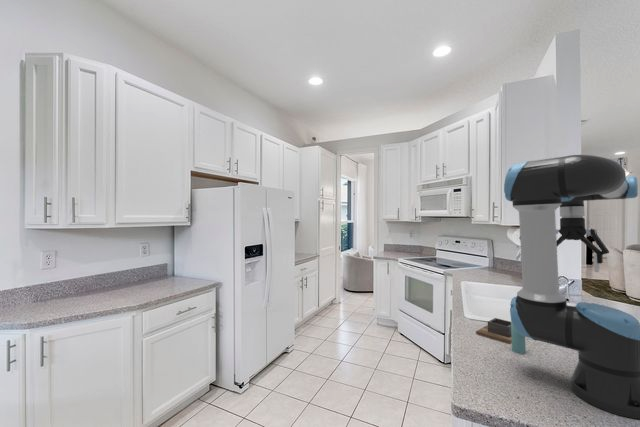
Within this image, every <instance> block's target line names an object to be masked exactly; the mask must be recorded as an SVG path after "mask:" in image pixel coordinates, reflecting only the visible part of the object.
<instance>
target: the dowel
mask: <svg viewBox="0 0 640 427" xmlns="http://www.w3.org/2000/svg"><path fill="white" fill-rule="evenodd" d="M510 322H511V337H512V343H511V350H512V351H513V353H517V354H521V355H524V354H526V353H527V352H526V337H525V336H522V335H520V334H519V333H518V332H517V331H516V330H515V328H514V326H513V324H512V320H511V319H510Z"/></svg>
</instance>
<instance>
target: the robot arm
mask: <svg viewBox="0 0 640 427" xmlns="http://www.w3.org/2000/svg"><path fill="white" fill-rule="evenodd" d="M504 178H505V179H504V184H503V193H504V198H505V199H506V200H507V201H508V202H512V207H513V208H514V209H515V210H517V211H518V221H519V222H518V224H519V241H520V257H521V258H520V260H521V278H522V279H521V280H522V282H521V283H522V288H521V289H520V290H518V291H517V292H516V296H513V297H512V298H511V301H510V304H509V305H510V308H509V313H510V321H511V320H512V324H513V326H514V328H515V330H516V331H517V332H518V333H519V334H520V335H522V336H525V338H529V339H531V340H533V341H539V342H542V343H547V344H549V345H554V346H558V347H562V348H566V349H570V350H573V351H577V353H578V360H577V361H578V362H577V364H576V367H575V369H574V372H572V376H571V377H570V388H571V391H572V392H573V393H574V394H575V395H576V396H577V397H579V399H582V400H583V401H584V402H587V403H588V404H590V405H591V406H594V407H596V408H598V409H601V410H603V411H606V412H608V413H612V414H614V415H618V416H622V417H626V418H631V419H636V418H640V321H639V320H638V319H637V318H636V317H635V316H633V315H632V314H630V313H627V312H626V311H623V310H621V309H617V308H615V307H611V306H607V305H602V304H598V303H594V302H593V303H592V302H591V303H590V302H587V301H585V302H583V301H581V302H578V303H576V304H577V305H576V307H573V306H568V305H567V303H566V302H567V298H566V297H565V295H563V294H562V293H561V292H560V285H559V284H560V283H559V266H558V247H559V246H560V245H561V244H562V243H563V242H564V241H565V240H567V241H572V240H573V241H581V242H582V243H584V245H586V246H587V247H588V248H589V249H590V250H591V251H592V252H593V253H595V254H594V255H593V267H594V268H593V269H594V273H599V272H600V264H603V261H604V260H603V255H607V254H609V253H610V251H609V249H608V248H607V247H606V245H605V244H604V242H603V241H602V239H601V238H600V236H599V235H598V233H597V229H595V228H593V229H592V228H591V229H586V219H585V218H584V217H585V216H586V215H585V202H587V201H602V200H603V201H605V200H606V201H607V200H627V199H635V198H637V197H638V195H639V188H638V178H637V177H636V176H627V175H626V171H625V169H624V168H623V166H622V165H621V164H620V163H618V162H617V161H616V160H612V159H611V158H610V159H609V158H606V157H603V156H597V155H590V154H572V155H571V154H570V155H566V156H559V157H553V158H552V157H550V158H542V159H535V160H528V161H524V162H521V163H516V164H512V165H511V166H510V167H509V169H508V170H507V172H506V174H505V177H504ZM558 208H559V217H560V219H559V229H557V226H556V225H557V223H556V210H557V209H558ZM558 233H559V234H560V237H558V239H557V235H558ZM586 234H588V235H589V236H591V238H592V239H593V241H594V242H595V244H597V245H595V244H593V243H592V242H591V241H590V240H589V239H588V238H587V237H586ZM598 247H599V248H598Z"/></svg>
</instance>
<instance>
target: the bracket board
mask: <svg viewBox="0 0 640 427" xmlns="http://www.w3.org/2000/svg"><path fill="white" fill-rule="evenodd" d="M477 334H478V335H477ZM475 335H477V336H481V337H484V338H488V339H491V340H495V341H498V342H500V343H504V344H508V345H512V337H511V320H510V321H509V320H506V319H501V318H497V317H494V318H492V319H490V320H489V321H487V324H486V325H485V326H483V327H481V328H479V329H478V330H476V331H475Z"/></svg>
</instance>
